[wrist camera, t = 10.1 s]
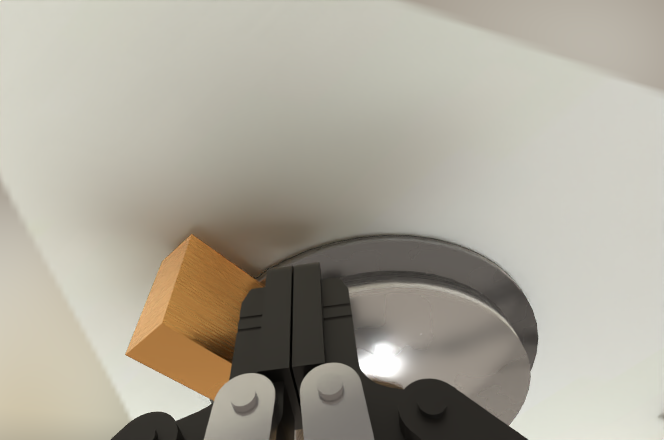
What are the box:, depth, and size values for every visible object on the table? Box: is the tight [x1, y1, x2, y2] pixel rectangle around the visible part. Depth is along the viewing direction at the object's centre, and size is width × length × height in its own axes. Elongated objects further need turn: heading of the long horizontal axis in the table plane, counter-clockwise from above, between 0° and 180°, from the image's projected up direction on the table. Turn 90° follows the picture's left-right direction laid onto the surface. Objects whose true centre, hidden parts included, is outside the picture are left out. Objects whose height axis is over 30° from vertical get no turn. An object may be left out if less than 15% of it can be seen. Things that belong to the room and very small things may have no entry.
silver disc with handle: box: [125, 234, 531, 440], centre depth 16 cm, size 16×12×4 cm
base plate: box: [210, 235, 538, 403], centre depth 19 cm, size 14×14×1 cm
